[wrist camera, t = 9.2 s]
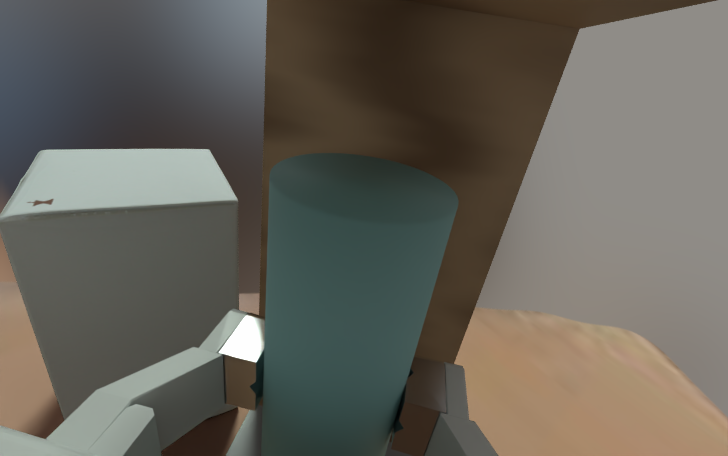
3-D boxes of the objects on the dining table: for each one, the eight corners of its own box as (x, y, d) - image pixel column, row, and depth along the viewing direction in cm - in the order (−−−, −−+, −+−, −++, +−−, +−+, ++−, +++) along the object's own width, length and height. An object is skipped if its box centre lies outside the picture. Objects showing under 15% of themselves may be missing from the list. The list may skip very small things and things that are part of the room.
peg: (238, 557, 11) (231, 193, 5) (283, 443, 14) (306, 143, 9) (353, 594, 10) (465, 244, 5) (372, 469, 14) (454, 172, 8)
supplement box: (243, 409, 20) (243, 200, 14) (73, 467, 16) (-20, 217, 10) (219, 321, 25) (212, 146, 20) (89, 350, 22) (34, 144, 16)
